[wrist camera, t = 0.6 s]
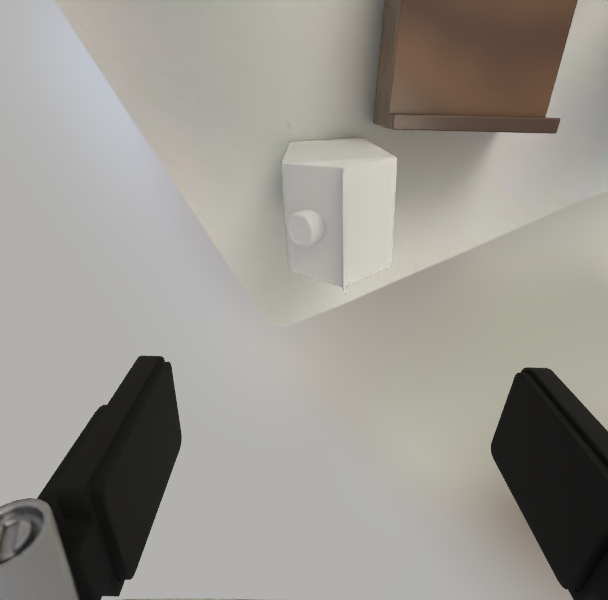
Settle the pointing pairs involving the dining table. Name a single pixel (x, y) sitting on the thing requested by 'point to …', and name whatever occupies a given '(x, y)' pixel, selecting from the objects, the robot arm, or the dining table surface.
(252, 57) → the dining table surface
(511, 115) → the brown wooden box
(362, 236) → the milk carton
